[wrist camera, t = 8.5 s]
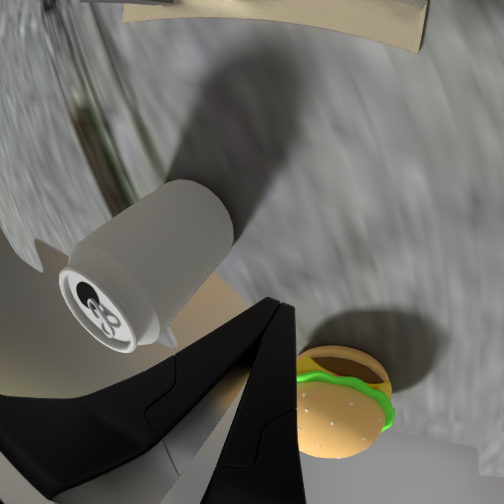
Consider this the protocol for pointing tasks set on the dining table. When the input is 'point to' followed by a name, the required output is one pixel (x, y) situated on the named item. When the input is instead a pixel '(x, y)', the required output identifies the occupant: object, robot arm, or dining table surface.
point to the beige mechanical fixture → (307, 15)
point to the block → (134, 1)
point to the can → (146, 264)
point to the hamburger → (341, 401)
